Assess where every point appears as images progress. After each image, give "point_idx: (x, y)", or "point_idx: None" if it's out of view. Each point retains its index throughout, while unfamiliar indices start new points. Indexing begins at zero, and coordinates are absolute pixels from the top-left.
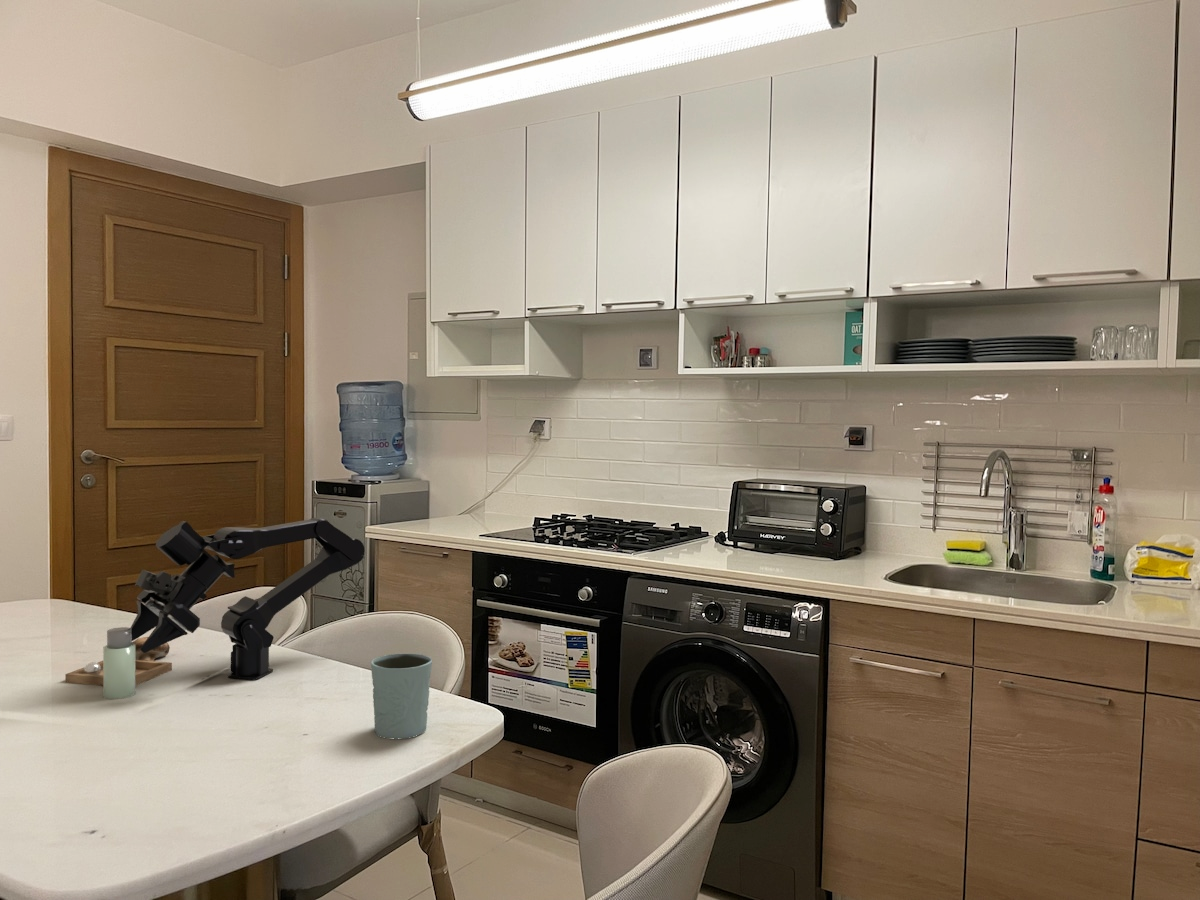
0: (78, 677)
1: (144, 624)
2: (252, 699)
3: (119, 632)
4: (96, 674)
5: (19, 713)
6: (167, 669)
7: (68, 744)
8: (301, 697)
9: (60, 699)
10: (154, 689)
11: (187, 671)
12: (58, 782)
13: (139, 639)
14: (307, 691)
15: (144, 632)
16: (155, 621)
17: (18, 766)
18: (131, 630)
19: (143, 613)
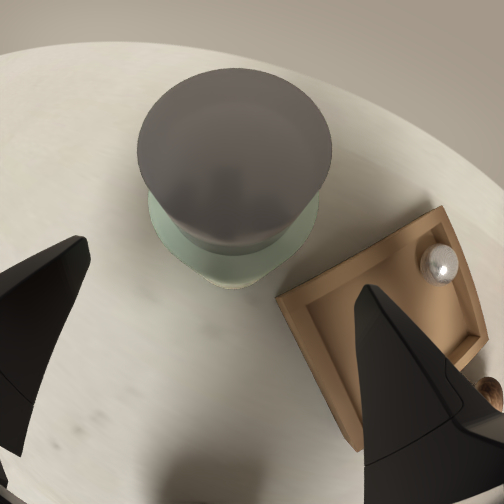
0: (417, 220)
1: (394, 423)
2: (31, 427)
3: (154, 107)
4: (420, 267)
5: (300, 84)
6: (346, 434)
7: (72, 92)
8: (10, 461)
9: (344, 162)
10: (254, 359)
11: (340, 470)
12: (10, 78)
13: (495, 408)
14: (33, 489)
15: (364, 403)
16: (382, 488)
17: (71, 48)
18: (169, 212)
19: (453, 449)
